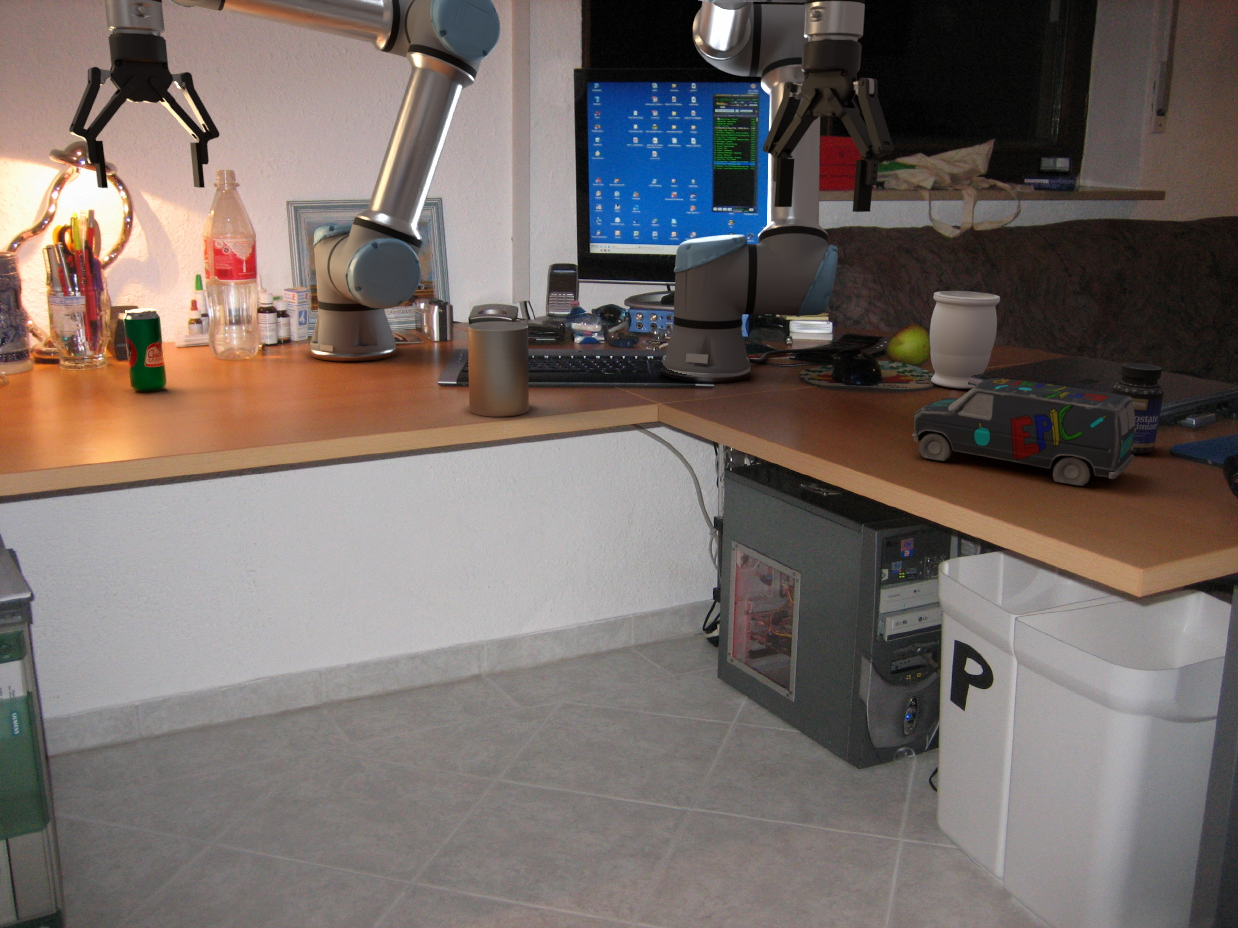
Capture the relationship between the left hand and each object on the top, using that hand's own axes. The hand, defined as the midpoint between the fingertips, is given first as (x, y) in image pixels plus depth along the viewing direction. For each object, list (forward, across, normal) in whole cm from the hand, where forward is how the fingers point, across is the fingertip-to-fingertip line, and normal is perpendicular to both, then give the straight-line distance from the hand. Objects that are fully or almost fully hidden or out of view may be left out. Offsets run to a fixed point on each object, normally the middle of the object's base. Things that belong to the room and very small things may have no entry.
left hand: (152, 188), depth 158 cm
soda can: (+30, -4, -1) cm, 30 cm away
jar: (+30, +108, -67) cm, 130 cm away
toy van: (+30, +73, -101) cm, 128 cm away
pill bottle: (+30, +92, -105) cm, 143 cm away
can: (+30, +34, -41) cm, 61 cm away
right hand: (0, +68, -71) cm, 98 cm away
